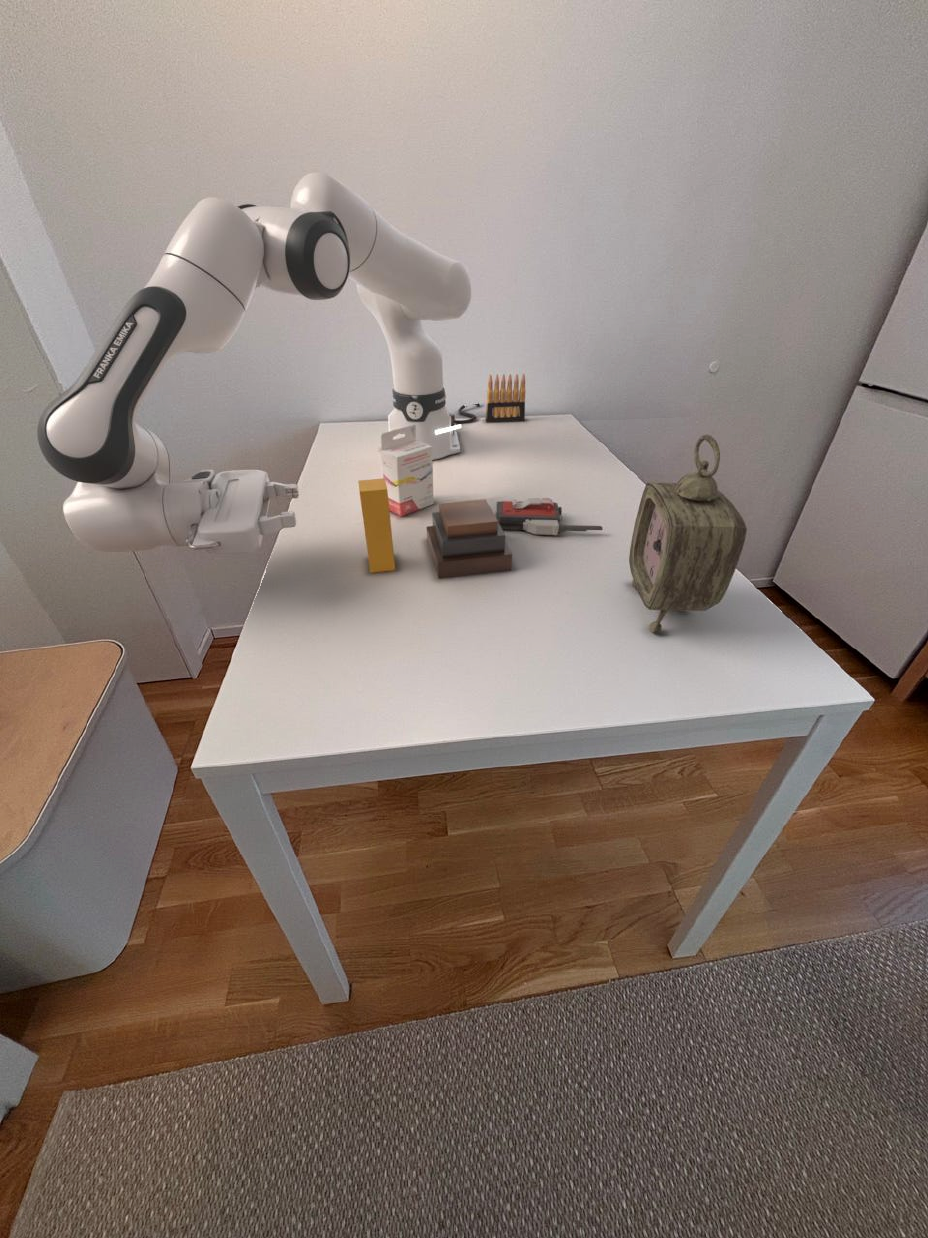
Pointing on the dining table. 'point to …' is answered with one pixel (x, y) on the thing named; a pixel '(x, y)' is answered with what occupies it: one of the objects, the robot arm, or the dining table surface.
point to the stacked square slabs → (467, 540)
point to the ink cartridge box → (407, 471)
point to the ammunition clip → (505, 400)
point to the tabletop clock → (685, 542)
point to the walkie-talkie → (535, 517)
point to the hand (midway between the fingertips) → (296, 504)
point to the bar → (377, 524)
